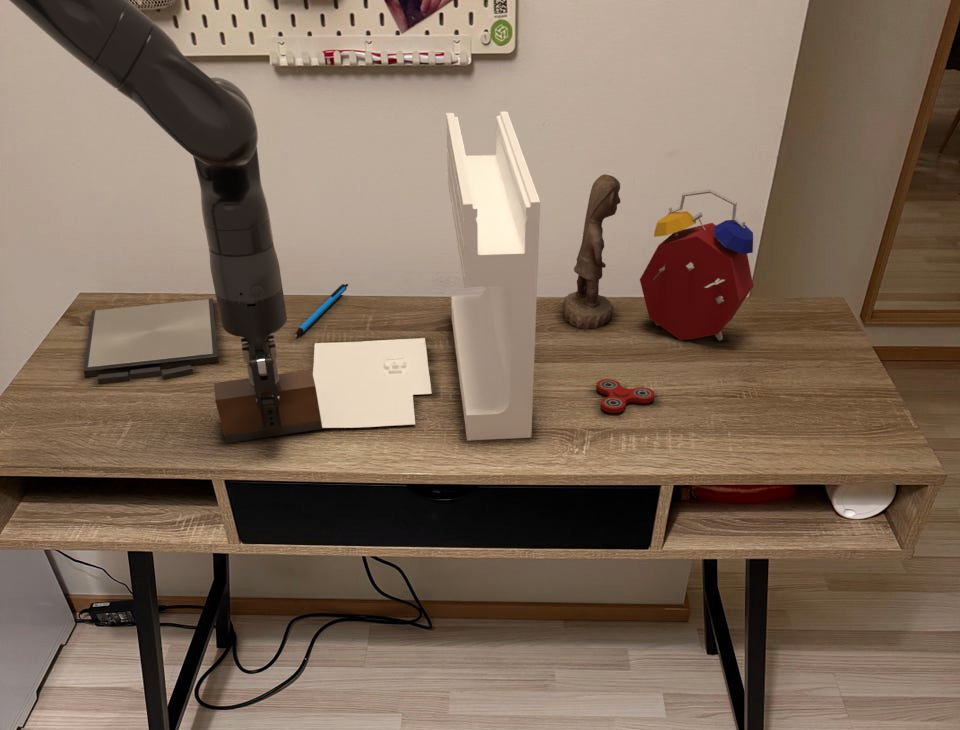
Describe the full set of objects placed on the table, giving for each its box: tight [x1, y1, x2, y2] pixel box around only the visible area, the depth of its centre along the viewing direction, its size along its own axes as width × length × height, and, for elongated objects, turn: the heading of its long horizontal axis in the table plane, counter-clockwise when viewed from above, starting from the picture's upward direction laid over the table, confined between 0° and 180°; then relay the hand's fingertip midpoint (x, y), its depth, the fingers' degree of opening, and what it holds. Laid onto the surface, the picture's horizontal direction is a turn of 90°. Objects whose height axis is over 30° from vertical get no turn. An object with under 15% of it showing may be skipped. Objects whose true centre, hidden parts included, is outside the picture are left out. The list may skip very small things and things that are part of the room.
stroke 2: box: [129, 367, 162, 380], centre depth 128 cm, size 4×1×1 cm, turn 104°
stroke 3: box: [161, 365, 194, 380], centre depth 128 cm, size 4×1×1 cm, turn 115°
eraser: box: [213, 368, 323, 444], centre depth 116 cm, size 12×4×6 cm, turn 104°
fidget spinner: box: [595, 378, 656, 414], centre depth 123 cm, size 8×7×1 cm
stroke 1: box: [97, 372, 131, 385], centre depth 127 cm, size 4×1×1 cm, turn 102°
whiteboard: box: [83, 298, 220, 378], centre depth 136 cm, size 18×20×1 cm
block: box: [445, 111, 541, 441], centre depth 119 cm, size 35×8×28 cm, turn 4°
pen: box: [295, 283, 349, 337], centre depth 143 cm, size 1×19×1 cm, turn 163°
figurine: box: [562, 174, 621, 330], centre depth 135 cm, size 9×8×20 cm
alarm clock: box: [639, 189, 754, 341], centre depth 130 cm, size 15×9×20 cm, turn 59°
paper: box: [312, 337, 432, 429], centre depth 126 cm, size 25×17×1 cm
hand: (270, 413), depth 117 cm, fingers open, 8 cm apart
